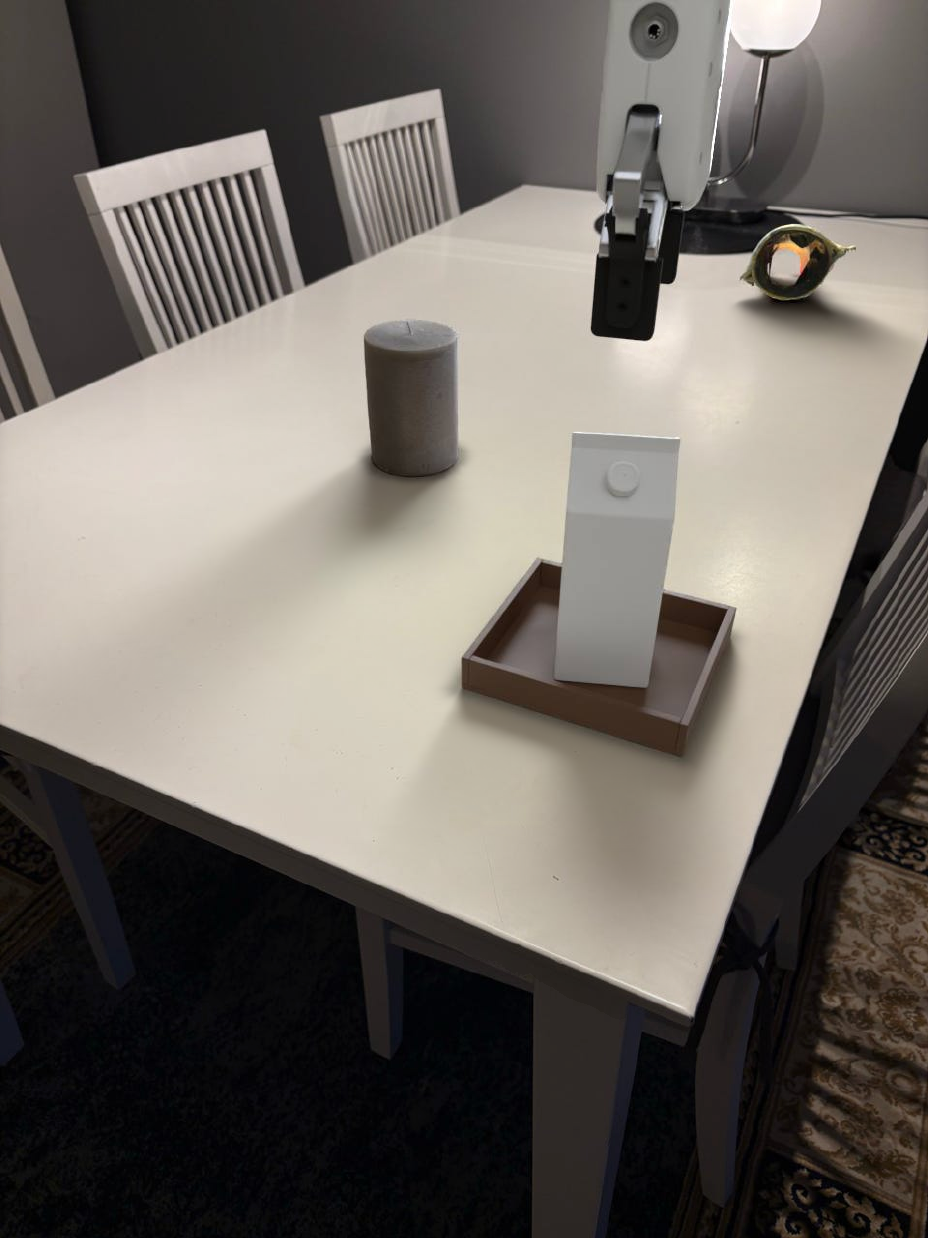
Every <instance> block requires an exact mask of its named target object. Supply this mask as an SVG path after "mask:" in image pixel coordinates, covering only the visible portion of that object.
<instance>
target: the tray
mask: <svg viewBox="0 0 928 1238" xmlns="http://www.w3.org/2000/svg"><path fill="white" fill-rule="evenodd" d="M561 572H562V562H558V561H554V560H551V559H546V558H542V557H536V558H535V560H534V562H533V563H532V564H531V565H530V567H529V568H528V569H527V570H526V572H525V573H524V575H523V576H522V577H521V578H520V580H519V581H518V582H517V584H516V585H515V586H514V588H513V589H512V590H511V592H510V593H509V594H508V596H506V598H505V599H504V601H503V602H502V604H501V605H500V606H499V607H498V609H497V610H496V611H495V613H494V614H493V616H492V617H491V618H490V619H489V620H488V622H487V623H486V625H484V627H483V628H482V630H481V632H480V633H479V634H478V635H477V637H476V638H475V639H474V641H473V642H472V643H471V644H470V646H469V647H468V648H467V650H466V651H465V652H464V653H463V655H462V656H461V688H462V689H464V690H468V691H471V692H475V693H478V694H481V695H484V696H487V697H491V698H494V699H497V700H500V701H503V702H506V703H510V704H513V705H516V706H519V707H522V708H525V709H528V710H531V711H535V712H538V713H541V714H544V715H547V716H550V717H554V718H557V719H559V720H563V721H567V722H570V723H573V724H575V725H579V726H581V727H585V728H588V729H592V730H595V731H598V732H601V733H604V734H607V735H610V736H613V737H617V738H619V739H624V740H626V741H630V742H633V743H636V744H639V745H641V746H645V747H648V748H652V749H655V750H657V751H661V752H664V753H667V754H671V755H674V756H677V757H680V758H683V757H684V754H685V753H686V749H687V747H688V744H689V741H690V739H691V737H692V734H693V731H694V729H695V726H696V724H697V721H698V719H699V717H700V714H701V712H702V709H703V706H704V704H705V701H706V699H707V696H708V694H709V692H710V689H711V687H712V684H713V681H714V679H715V676H716V674H717V671H718V669H719V667H720V665H721V661H722V659H723V656H724V654H725V651H726V648H727V646H728V644H729V642H730V639H731V636H732V631H733V627H734V622H735V618H736V613H737V609H738V608H737V607H736V606H732V605H728V604H724V603H720V602H716V601H714V600H713V601H712V600H708V599H705V598H701V597H696V596H693V595H689V594H685V593H681V592H678V591H673V590H669V589H666V588H663V594H662V600H661V606H660V613H659V619H658V626H657V632H656V638H655V645H654V651H653V657H652V664H651V670H650V676H649V683H648V686H647V687H646V688H643V687H630V686H619V685H608V684H597V683H585V682H574V681H563V680H555V679H554V667H555V653H556V640H557V626H558V613H559V599H560V586H561Z"/></svg>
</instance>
